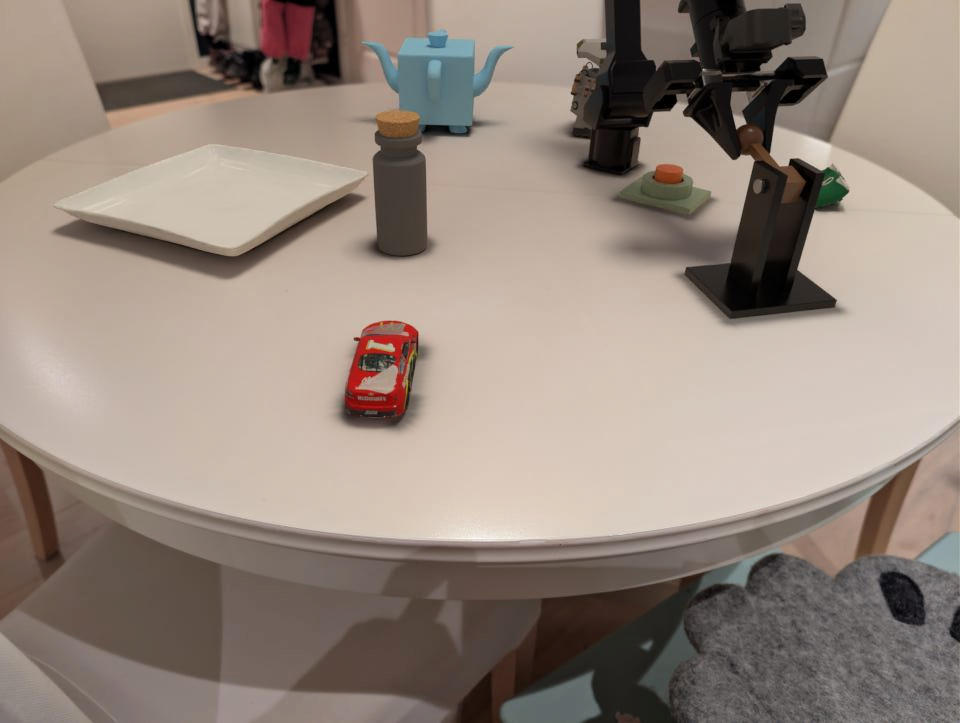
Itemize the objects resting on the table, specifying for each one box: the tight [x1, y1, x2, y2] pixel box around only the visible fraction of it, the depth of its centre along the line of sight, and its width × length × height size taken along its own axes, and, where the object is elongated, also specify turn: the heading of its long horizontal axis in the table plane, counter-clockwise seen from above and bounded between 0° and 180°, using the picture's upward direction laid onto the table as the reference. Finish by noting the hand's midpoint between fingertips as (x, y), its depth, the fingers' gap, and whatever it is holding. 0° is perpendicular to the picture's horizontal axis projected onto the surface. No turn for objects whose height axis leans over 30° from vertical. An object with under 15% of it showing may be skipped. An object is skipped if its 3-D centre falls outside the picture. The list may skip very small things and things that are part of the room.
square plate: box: [53, 143, 369, 257], centre depth 93 cm, size 27×27×4 cm
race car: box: [344, 319, 420, 419], centre depth 63 cm, size 13×5×4 cm, turn 177°
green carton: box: [815, 162, 850, 209], centre depth 101 cm, size 9×4×6 cm
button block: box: [618, 170, 712, 216], centre depth 100 cm, size 10×8×3 cm
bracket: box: [684, 157, 838, 320], centre depth 75 cm, size 10×12×14 cm
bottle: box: [372, 109, 428, 257], centre depth 83 cm, size 6×6×15 cm
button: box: [654, 163, 684, 184], centre depth 99 cm, size 4×4×2 cm
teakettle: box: [361, 29, 515, 134], centre depth 125 cm, size 19×19×15 cm
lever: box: [736, 123, 806, 203], centre depth 75 cm, size 11×3×3 cm, turn 14°
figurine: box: [569, 37, 606, 139], centre depth 123 cm, size 9×12×15 cm
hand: (751, 157), depth 77 cm, fingers closed on lever, 3 cm apart
